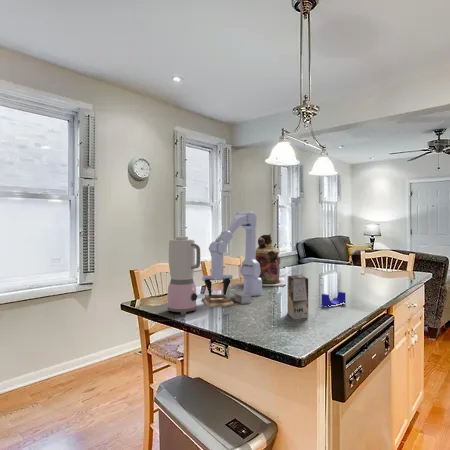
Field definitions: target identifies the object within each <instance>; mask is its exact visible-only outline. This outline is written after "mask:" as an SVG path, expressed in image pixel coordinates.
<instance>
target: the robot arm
mask: <svg viewBox="0 0 450 450" xmlns="http://www.w3.org/2000/svg"><path fill="white" fill-rule="evenodd" d="M239 227H243V228H244V229H245V258H244V260H243V261H242V262H241V267H240V274H241V276H242V278H243V292H240V293H246V294H249V295H251V297H253V296H254V297H257V296H263V295H264V294H263V286H262V280H261V278H258V277H259V276H260V273H261V270H260V264H259V262H257V261H256V259H255V257H256V249H257V248H256V247H257V245H256V244H257V215H256V213H255V212H254V211H251V210H250V211H237V212H236V214H235V215H234V216H233V220H232V221H231V223H230V224H229V226H228V227H227V229H225V230H222V231H221V232H220V234H219V235H218V237H217V238H216V239H215V241H212V242H211V243H210V244H209V247H208V250H209V254H210V257H211V258H210V259H211V261H210V263H211V273H210V275H202V276H201V280H202V281H203V282H204V283H205V286H206V288H207V292H208V295H209V296H211V295H212V283H213V282H212V281H216V280H217V281H221V280H222V283H223V284H222V285H223V291H222V294H224V295H226V296H227V290H228V288H229V285H230V284H231V280H233V275H232V274H224V253H226V251H227V247H228V245H229V243H230V242H231V240H233V239H232V238H233V234H234V233H235V232H236V231H237V229H239Z"/></svg>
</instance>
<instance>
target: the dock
mask: <svg viewBox="0 0 450 450" xmlns="http://www.w3.org/2000/svg"><path fill="white" fill-rule="evenodd" d="M201 300H202V301H203V302H204V304H205V305H206V306H207V307H208V308H213V307H214V308H215V307H227V306H229V307H230V306H235V302H233V301H232V299H231V298H230V297H229V296H228V295H227V294H226V295H224V294H223V293H219V294H217V293H216V294H211V296H209V294H205V295H204V296H202V297H201Z"/></svg>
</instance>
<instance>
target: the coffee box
mask: <svg viewBox="0 0 450 450" xmlns="http://www.w3.org/2000/svg"><path fill="white" fill-rule="evenodd" d="M287 315H288V316H289V317H291V319H292V320H302V319H301V318H308V319H309V278H308V277H305V276H303V274H302V275H301V274H300V275H298V274H297V275H296V274H295V275H287Z"/></svg>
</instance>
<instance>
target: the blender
mask: <svg viewBox="0 0 450 450" xmlns="http://www.w3.org/2000/svg"><path fill="white" fill-rule="evenodd" d="M195 243H196V241H195V240H194V239H189V237H188V236H176V237H175V239H170V240H169V241H168V268H169V273H170V281H169V284H168V287H167V312H168V311H170V312H175V313H180V315H181V314H186V315H187V312H192V311H193V312H195V311H196V312H197V298H198V295H197V286H196V284H195V281H194V275H195V274H194V273H195V270H196V269H199V268H200V266H201V247H200V246H199V245H198V244H195Z"/></svg>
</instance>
